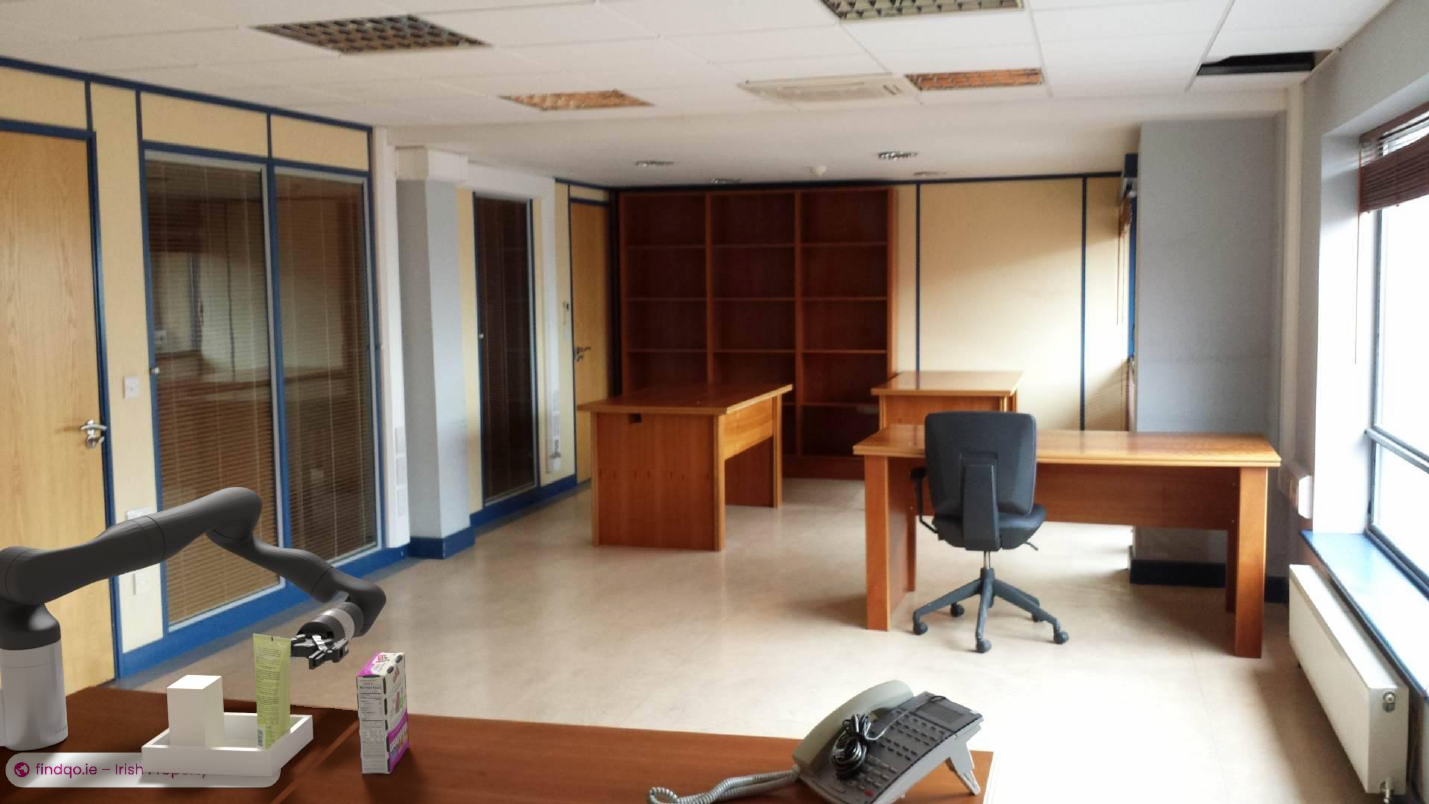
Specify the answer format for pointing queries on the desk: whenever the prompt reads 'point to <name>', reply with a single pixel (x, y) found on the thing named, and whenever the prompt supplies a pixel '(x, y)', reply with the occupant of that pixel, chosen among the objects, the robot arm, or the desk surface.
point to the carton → (196, 711)
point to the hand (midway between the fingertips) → (286, 663)
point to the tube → (272, 687)
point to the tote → (230, 750)
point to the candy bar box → (382, 712)
